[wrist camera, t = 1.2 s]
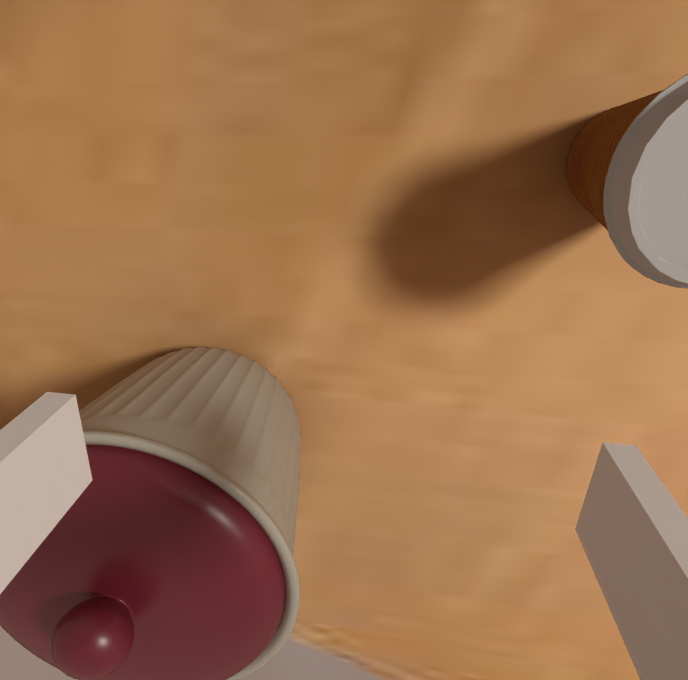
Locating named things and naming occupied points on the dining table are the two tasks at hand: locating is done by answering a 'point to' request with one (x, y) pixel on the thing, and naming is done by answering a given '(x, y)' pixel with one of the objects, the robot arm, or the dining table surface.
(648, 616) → the robot arm
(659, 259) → the disposable coffee cup
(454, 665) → the dining table surface
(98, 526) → the canister
